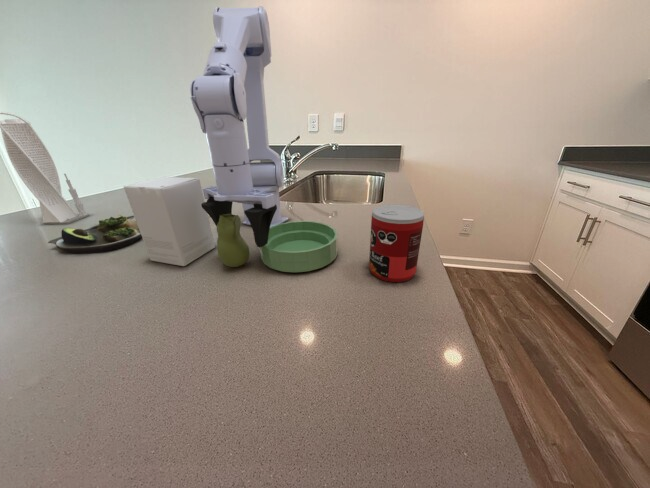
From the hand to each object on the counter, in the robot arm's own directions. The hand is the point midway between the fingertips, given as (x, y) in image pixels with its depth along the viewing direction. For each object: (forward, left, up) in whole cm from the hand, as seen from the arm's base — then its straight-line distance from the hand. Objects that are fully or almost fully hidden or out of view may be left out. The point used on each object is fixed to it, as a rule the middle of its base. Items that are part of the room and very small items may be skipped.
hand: (244, 240), depth 47 cm
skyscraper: (-67, -5, -5) cm, 67 cm away
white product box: (-15, -3, -5) cm, 16 cm away
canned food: (+25, +9, -5) cm, 27 cm away
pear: (-1, -1, -5) cm, 5 cm away
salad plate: (-39, -6, -5) cm, 40 cm away
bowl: (+7, +7, -5) cm, 11 cm away
